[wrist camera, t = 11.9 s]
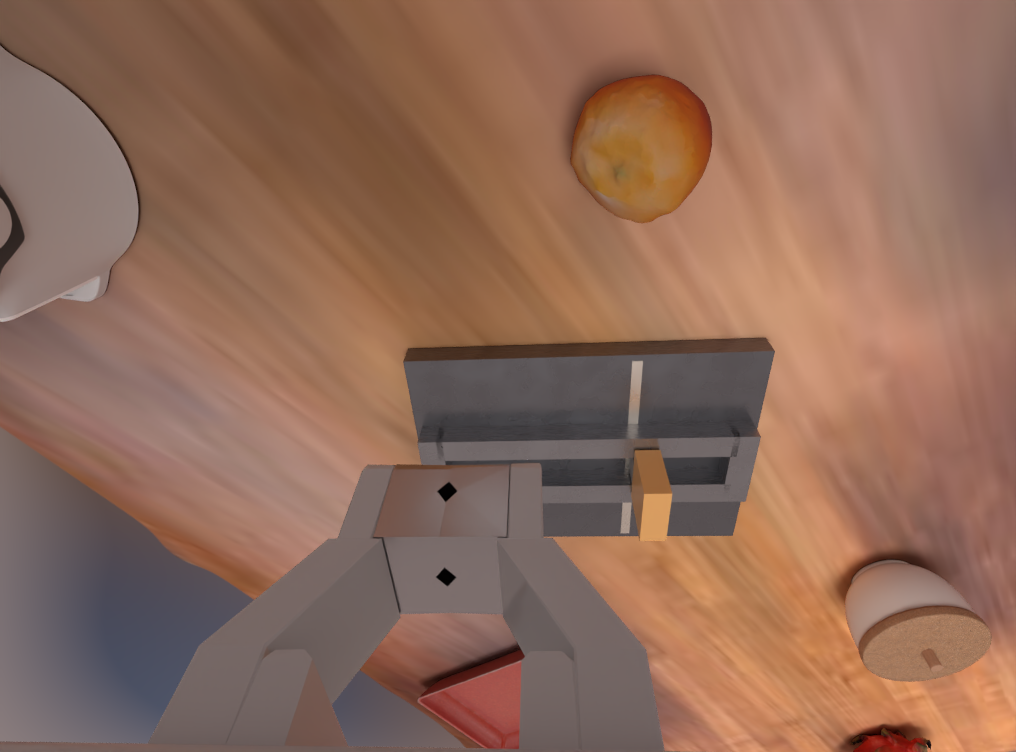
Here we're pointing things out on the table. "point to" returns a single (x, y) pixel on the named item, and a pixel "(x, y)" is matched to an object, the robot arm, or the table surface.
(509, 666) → the plant saucer
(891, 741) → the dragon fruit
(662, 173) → the fruit
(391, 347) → the table surface
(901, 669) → the lidded jar
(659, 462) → the block
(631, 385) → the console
